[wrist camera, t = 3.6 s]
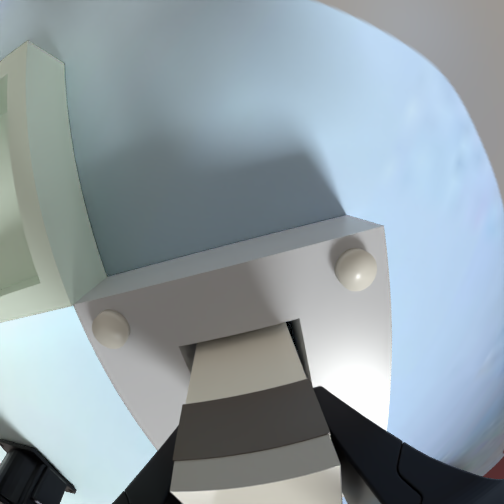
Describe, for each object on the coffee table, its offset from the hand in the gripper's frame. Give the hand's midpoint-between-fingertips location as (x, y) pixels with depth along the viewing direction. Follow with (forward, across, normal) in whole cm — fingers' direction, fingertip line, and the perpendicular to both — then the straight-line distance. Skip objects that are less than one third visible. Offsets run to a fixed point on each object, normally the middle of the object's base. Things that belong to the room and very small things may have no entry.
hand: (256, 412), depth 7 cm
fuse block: (+4, 0, +4) cm, 6 cm away
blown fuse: (+4, 0, 0) cm, 4 cm away
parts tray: (+4, +11, -9) cm, 15 cm away
